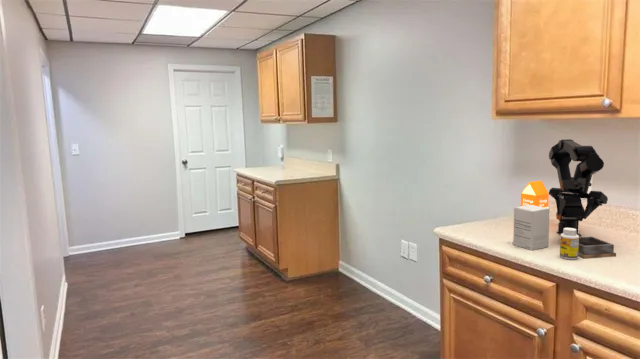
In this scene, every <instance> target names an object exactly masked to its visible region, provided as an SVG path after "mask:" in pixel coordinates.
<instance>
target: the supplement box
mask: <svg viewBox="0 0 640 359" xmlns="http://www.w3.org/2000/svg"><path fill="white" fill-rule="evenodd" d="M549 237H550V208H549V207H548V208H545V207H539V206H535V205H526V206H521V205H520V206H515V207H513V238H512V239H513V242H512V243H513V246H515V247H516V246H517V247H518V248H519V247H520V248H522V249H526V250H530V251H535V250H540V249H544V248H549V243H550V242H549V240H550V238H549Z"/></svg>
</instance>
